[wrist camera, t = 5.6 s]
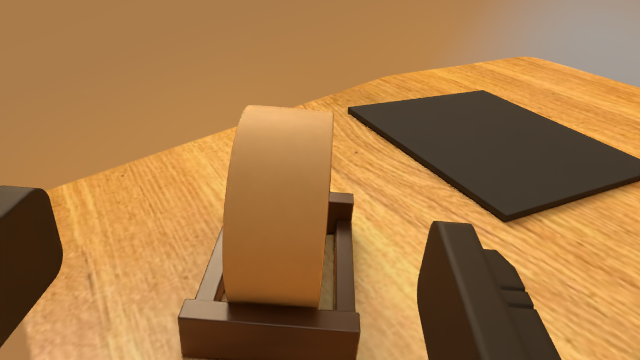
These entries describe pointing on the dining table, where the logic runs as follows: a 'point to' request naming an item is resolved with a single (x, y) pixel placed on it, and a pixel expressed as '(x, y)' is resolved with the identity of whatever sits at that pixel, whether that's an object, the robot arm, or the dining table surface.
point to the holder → (276, 312)
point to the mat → (500, 151)
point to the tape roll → (277, 207)
